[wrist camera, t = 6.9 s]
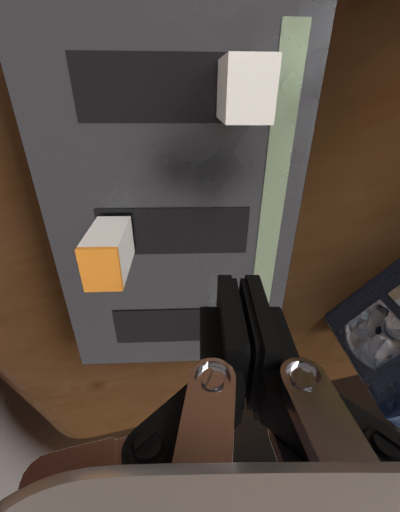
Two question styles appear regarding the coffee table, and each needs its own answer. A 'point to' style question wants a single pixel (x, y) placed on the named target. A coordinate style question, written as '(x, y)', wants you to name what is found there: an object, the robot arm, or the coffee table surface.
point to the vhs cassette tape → (374, 337)
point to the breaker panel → (162, 152)
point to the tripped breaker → (106, 254)
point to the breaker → (248, 87)
